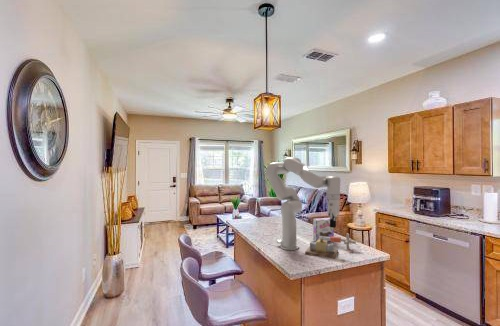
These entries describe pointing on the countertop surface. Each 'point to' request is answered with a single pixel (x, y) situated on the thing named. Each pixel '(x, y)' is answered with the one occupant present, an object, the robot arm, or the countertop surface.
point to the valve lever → (331, 239)
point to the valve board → (321, 254)
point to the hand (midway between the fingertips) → (332, 227)
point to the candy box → (322, 228)
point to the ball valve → (321, 246)
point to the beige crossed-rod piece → (348, 241)
